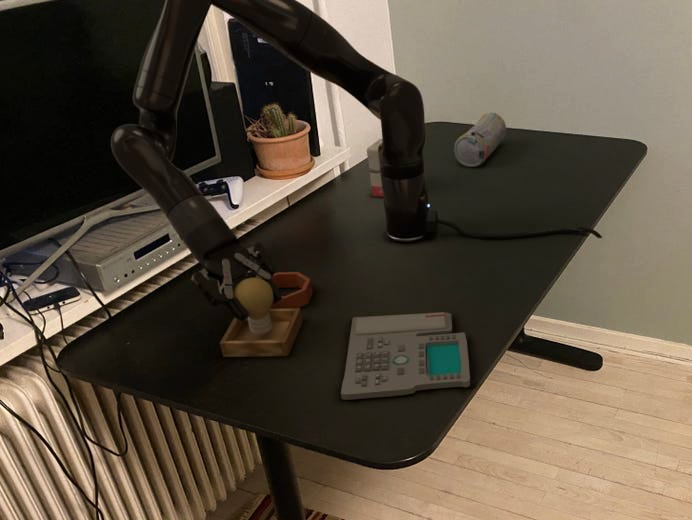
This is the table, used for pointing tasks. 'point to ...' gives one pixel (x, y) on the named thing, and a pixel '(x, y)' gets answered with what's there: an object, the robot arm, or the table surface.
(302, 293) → the orange octagonal ring
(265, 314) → the light bulb
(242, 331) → the tray
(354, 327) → the office telephone
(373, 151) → the ink box
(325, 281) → the table surface
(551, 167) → the table surface
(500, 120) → the pencil case
